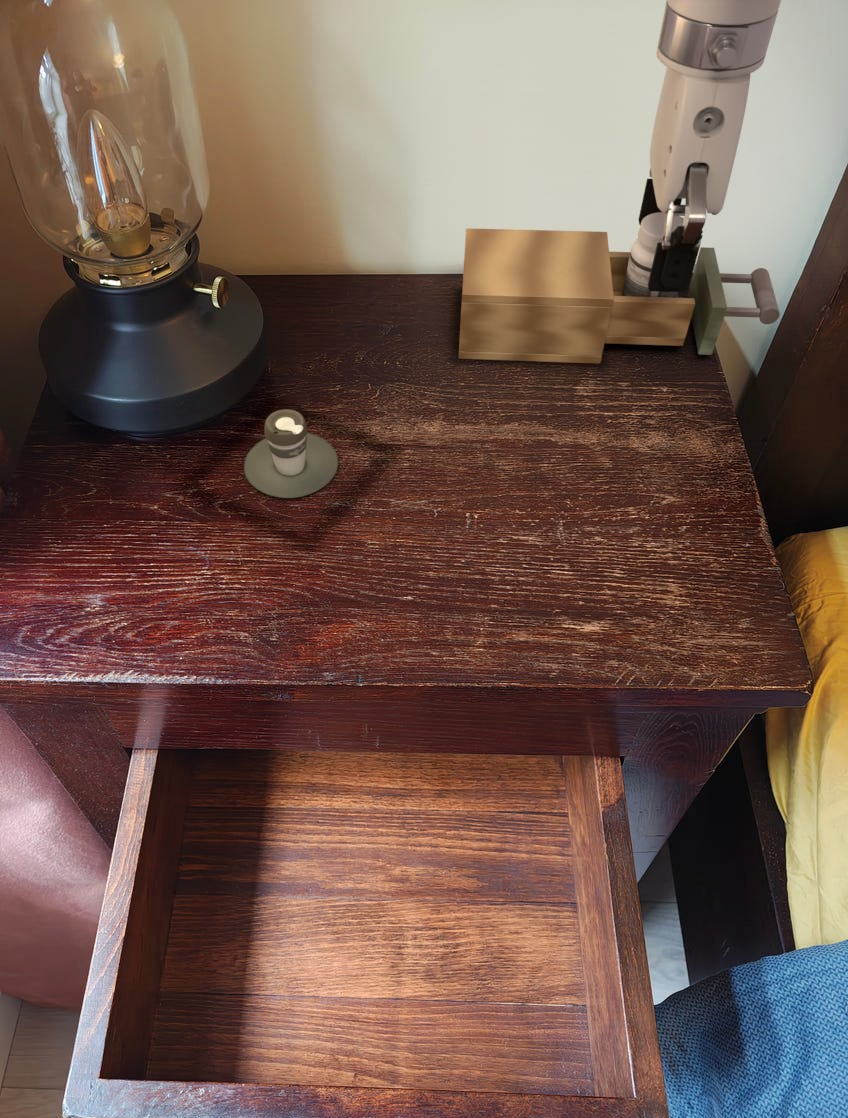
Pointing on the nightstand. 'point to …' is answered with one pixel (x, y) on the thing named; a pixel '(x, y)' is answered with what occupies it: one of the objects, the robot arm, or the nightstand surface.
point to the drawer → (685, 306)
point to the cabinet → (535, 295)
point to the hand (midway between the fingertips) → (661, 256)
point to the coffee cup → (290, 458)
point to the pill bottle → (646, 257)
